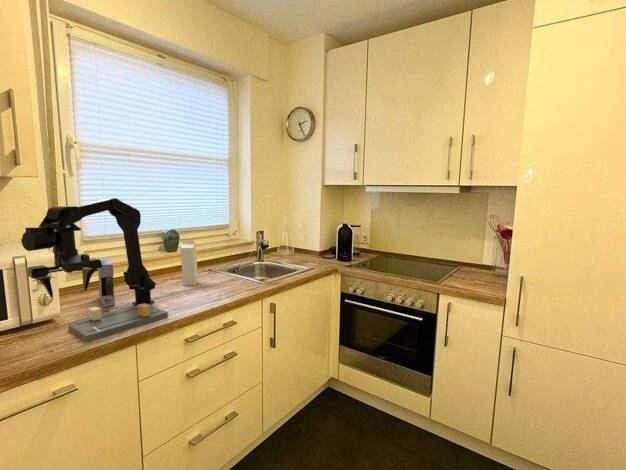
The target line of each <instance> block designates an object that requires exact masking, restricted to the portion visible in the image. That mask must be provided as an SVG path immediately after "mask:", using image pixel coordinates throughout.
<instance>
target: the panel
mask: <svg viewBox="0 0 626 470" xmlns="http://www.w3.org/2000/svg"><path fill="white" fill-rule="evenodd" d="M146 304H147V303H146ZM147 305H150V315H149V316H145V317H142V316H140V315H138V306H136V305H134V306H131V307H127V308H125V309H124V308H123V309H120V310H116V311H112V312H108V313H104V314H101V319H98V320H94V321H93V320H91V319H90V318H89V317H88V318H86V319H81V320H78V321H77V320H76V321H73V322H69V323H68V324H67V325H68V331H70V332H71V333H73V334H75V335H76V336H77V337H78V338H79V339H81V340H83V341H84V342H85V343H88V342H92V341H95V340H98V339H102V338H104V337H108V336H112V335H114V334H118V333H122V332H125V331H127V330H132V329H134V328H138V327H141V326H144V325H148V324H150V323H153V322H157V321H160V320H164V319H167V318H168V317H169V316H168V315H169V314H168V313H169V312H168V311H166V310H164V309H161V308H159V307H156V306H154V305H152V304H147Z"/></svg>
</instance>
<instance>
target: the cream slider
mask: <svg viewBox="0 0 626 470" xmlns="http://www.w3.org/2000/svg"><path fill="white" fill-rule="evenodd" d="M87 309H88V310H87V311H88V318H90V319H91V320H93V321H94V320H98V319H101V315H102V310H101V308H100V307H98V306H93V307H92V306H91V307H89V308H87Z"/></svg>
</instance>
